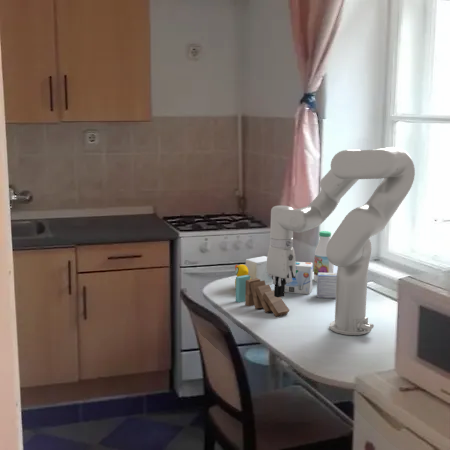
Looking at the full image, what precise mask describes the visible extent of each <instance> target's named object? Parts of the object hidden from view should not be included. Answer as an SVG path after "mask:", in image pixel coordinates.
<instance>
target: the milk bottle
mask: <svg viewBox="0 0 450 450" xmlns="http://www.w3.org/2000/svg"><path fill="white" fill-rule="evenodd" d="M331 237H332V232H331V231H328V230H320V231H319V237H318V238H319V240H318V243H317V245H316V247H315V249H314V250H315V251H314V259H313V261H314V262H313V281H314V282H317V277H318V273H334V266H335V265H333V264H332V263H331V262H330V261H329V260H328V258H327V255H326V248H327V244H328V242H329V240H330V239H331Z"/></svg>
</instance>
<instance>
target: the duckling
mask: <svg viewBox="0 0 450 450" xmlns="http://www.w3.org/2000/svg"><path fill="white" fill-rule="evenodd" d="M245 265H246V264H243V263H242V264H241V263H240V264H239V265H238V264H235V266H234V270H235V271H234V272H235V275H236V277H239V276H244V275H248V268H247V266H245ZM250 279H251V278H250ZM234 280H235V281H234V286H235V288H236V278H235V279H234Z"/></svg>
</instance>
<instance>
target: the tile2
mask: <svg viewBox="0 0 450 450" xmlns="http://www.w3.org/2000/svg"><path fill="white" fill-rule="evenodd" d="M255 290H256V292H257V295H258V297H259V299H260V301H261V304H262V306H263V307H262V308H263V310H264V312H265V313H270V312H272V310H271V309H270V307H269V306H268V304H267V302H266V301H265V299H264V298H263V294H264V293H265V292H269V291H273V290H272V287H271V285H264V286H259V287H257V288H256V289H255Z"/></svg>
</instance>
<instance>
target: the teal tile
mask: <svg viewBox="0 0 450 450" xmlns="http://www.w3.org/2000/svg"><path fill="white" fill-rule="evenodd" d="M235 279H236V287H235V302H237V303H242V302H244V303H245V293H246V280H250V276H248V275H244V276H239V277H237V276H236V277H235Z"/></svg>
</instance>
